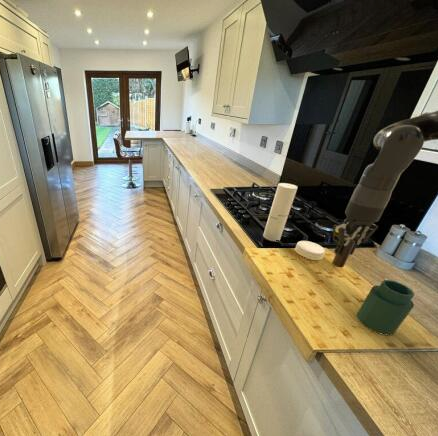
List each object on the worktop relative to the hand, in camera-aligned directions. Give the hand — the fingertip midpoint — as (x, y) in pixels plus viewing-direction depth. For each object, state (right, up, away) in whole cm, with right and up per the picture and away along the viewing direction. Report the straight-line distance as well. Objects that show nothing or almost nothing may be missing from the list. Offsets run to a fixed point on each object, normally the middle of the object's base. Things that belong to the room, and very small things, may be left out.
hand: (343, 253), depth 72 cm
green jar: (+4, -19, -6) cm, 20 cm away
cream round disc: (+6, -4, +25) cm, 26 cm away
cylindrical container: (-3, +2, +36) cm, 37 cm away
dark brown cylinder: (0, -4, +2) cm, 4 cm away
